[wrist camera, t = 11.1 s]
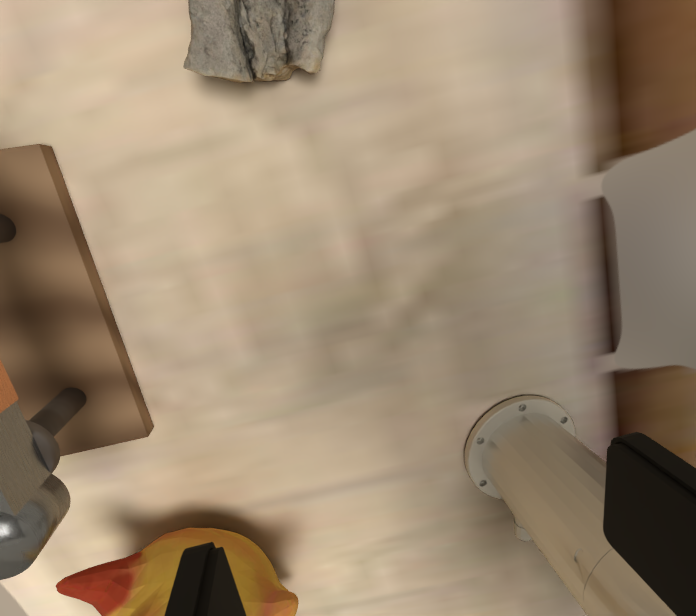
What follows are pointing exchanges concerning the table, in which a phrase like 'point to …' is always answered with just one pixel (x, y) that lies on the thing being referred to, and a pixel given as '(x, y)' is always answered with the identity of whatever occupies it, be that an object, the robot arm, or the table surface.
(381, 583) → the table surface
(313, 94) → the table surface
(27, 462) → the two-ball handle bar
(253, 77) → the rock
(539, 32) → the table surface
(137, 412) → the rack
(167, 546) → the toy
